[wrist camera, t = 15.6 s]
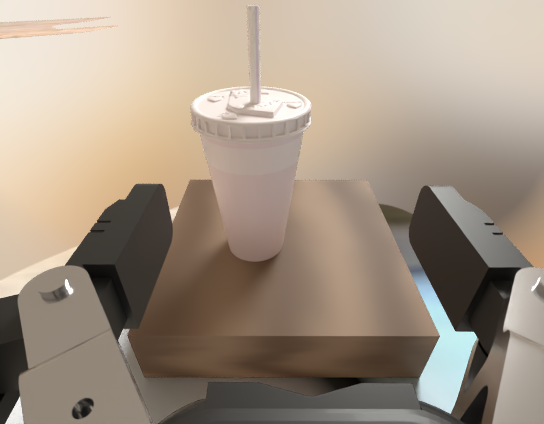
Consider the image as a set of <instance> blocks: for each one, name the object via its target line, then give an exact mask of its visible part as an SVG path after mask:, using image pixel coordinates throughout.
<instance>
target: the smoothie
mask: <svg viewBox="0 0 544 424" xmlns="http://www.w3.org/2000/svg"><path fill="white" fill-rule="evenodd" d="M259 7H260V6H259V5H247V24H248V51H249V77H250V78H249V80H250V86H249V87H248V86H246V87H233V88H226V89H220V90H216V91H212V92H209V93H206V94H203V95H202V96H199V97H198V98H196V99H195V100H194V101H193V102H192V103H191V106H190V109H191V116H192V121H191V125H192V127H193V129H194V130H195V131H196V132H198V133H199V134H200V136H201V139H202V144H203V148H204V152H205V156H206V160H207V163H208V167H209V171H210V175H211V179H212V182H213V186H214V190H215V194H216V198H217V202H218V206H219V209H220V213H221V217H222V221H223V225H224V229H225V232H226V236H227V240H228V244H229V248H230V250H231V252H232V253H233V254H234V255H235V256H236V257H238V258H240V259H242V260H246V261H252V262H258V261H264V260H268V259H270V258H272V257H274V256H275V255H277V254H278V253H279V252H280V250H281V248H282V245H283V240H284V234H285V229H286V224H287V218H288V213H289V207H290V202H291V197H292V191H293V186H294V180H295V175H296V170H297V164H298V159H299V154H300V149H301V143H302V137H303V132H304V131H305V130H306V129H307V128H308V127H309V126H310V123H311V118H310V112H311V103H310V101H309V100H308V99H307V98H306V97H304V96H302V95H301V94H299V93H296V92H293V91H289V90H286V89H280V88H273V87H261V67H260V66H261V65H260V11H259V10H260V9H259Z"/></svg>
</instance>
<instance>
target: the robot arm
mask: <svg viewBox="0 0 544 424" xmlns="http://www.w3.org/2000/svg"><path fill="white" fill-rule="evenodd" d="M90 231H91V232H90V233H88V234H87V236H86V237H85V238H84V240H83V241H82V242H81V244H80V245H79V246H78V248H77V249H76V251H75V252H74V253H73V255H72V256H71V258H70V259H69V260H68V262H67V263H66V265H65V266H60V267H56V268H53V269H50V270H47V271H45V272H43V273H41V274H39V275H38V276H36V277H35V278H33V279H32V280H31V281H29V282H28V283H27V284H26V285H25V286H24V287H23V289H22V290H21V292H20V294H18V295H13V296H9V297H5V298H0V424H5V423H6V421H7V419H8V417H9V415H10V413H11V412H12V410H13V408H14V406H15V404H16V402H17V401H18V399H19V397H20V398H21V406H22V413H23V420H24V424H153V421H152V419H151V417H150V414H149V412H148V410H147V408H146V405H145V403H144V401H143V398H142V396H141V394H140V391H139V389H138V386H137V384H136V382H135V379H134V377H133V375H132V372H131V370H130V368H129V365H128V363H127V360H126V358H125V356H124V353H123V351H122V349H121V346H120V344H119V342H118V339H119V337H120V334H121V332H122V330H123V329H139V326H140V324H141V321H142V318H143V316H144V313H145V311H146V308H147V305H148V303H149V300H150V297H151V295H152V292H153V290H154V287H155V284H156V282H157V279H158V277H159V274H160V271H161V269H162V266H163V264H164V261H165V258H166V256H167V253H168V250H169V248H170V245H171V242H172V237H173V226H172V220H171V216H170V211H169V206H168V202H167V197H166V192H165V189H164V186H163V185H162V184H136V185H135V186H134V187H133V189H132V190H131V192H130V193H129V195H128V196H127V198H126V199H125V200H118V201H117V202H115V203H114V204H112V205H111V206H109V207H108V208H107V209H105V211H104V212H103V213H102V215H101V216H100V217H99V219H98V220H97V223H95V224H94V226H93V227H92V228H91V230H90ZM409 239H410V243H411V246H412V248H413V250H414V252H415V254H416V256H417V258H418V259H419V261H420V263H421V265H422V267H423V269H424V271H425V273H426V275H427V277H428V279H429V281H430V283H431V285H432V287H433V289H434V291H435V293H436V295H437V296H438V298H439V300H440V302H441V304H442V306H443V308H444V310H445V312H446V314H447V316H448V318H449V320H450V322H451V324H452V326H453V328H454V330H455V331H467V332H475V334H476V336H477V340H476V341H475V343H474V345H473V348H472V351H471V354H470V358H469V361H468V364H467V368H466V371H465V374H464V378H463V381H462V384H461V388H460V391H459V394H458V398H457V401H456V403H455V406H454V408H453V410H452V412H451V414H449V413H447V412H445V411H443V410H441V409H439V408H437V407H435V406H432V405H430V404H427V403H425V402H422V401H418V399H417V396H416V393H415V390H414V387H413V384H412V383H360V384H357V385H353V386H349V387H346V388H342V389H339V390H335V391H332V392H328V393H324V394H321V395H317V396H306V395H302V394H299V393H295V392H291V391H288V390H284V389H281V388H277V387H273V386H270V385H266V384H262V383H258V382H209V383H208V389H207V396H206V398H205V399H202V400H198V401H196V402H193V403H191V404H188V405H186V406H184V407H182V408H181V409H179V410H177V411H175V412H173V413H172V414H171V415H169V416H168V417H166V418H165V419H163V420H162V421H161V422H160V423H158V424H544V269H542V268H534V267H533V266H532V265H531V263H530V262H529V261H528V260H527V259H526V258H525V257H524V256H523V255H522V253H521V252H520V251H519V250H518V249H517V248H516V247H515V246H514V245H513V243H512V242H511V241H510V240H509V239H508V238H507V237H506V236H505V235H503V232H502V231H501V230H500V229H499V228H498V227H497V226H496V225H494V222H493V221H492V220H491V219H490V218H489V217H488V216H487V214H486V213H485V212H484V211H482V210H481V209H479V208H477V207H476V206H474V205H473V204H471V203H469V202H465V201H464V199H463V198H462V197H461V196H460V195H459V193H458V192H457V191H456V190H455V189H454V188H453V187H452V186H424V187H423V188H422V189H421V191H420V194H419V197H418V200H417V203H416V207H415V210H414V213H413V217H412V220H411V223H410V227H409Z"/></svg>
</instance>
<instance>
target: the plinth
mask: <svg viewBox="0 0 544 424" xmlns="http://www.w3.org/2000/svg"><path fill="white" fill-rule="evenodd" d="M172 226H173V237H172V242H171V245H170V248H169V250H168V253H167V256H166V258H165V261H164V264H163V266H162V269H161V271H160V274H159V277H158V279H157V282H156V284H155V287H154V290H153V292H152V295H151V297H150V300H149V303H148V305H147V308H146V311H145V313H144V316H143V318H142V321H141V324H140V326H139V329H130V331H129V333H128V338H129V341H130V343H131V346H132V348H133V350H134V353H135V355H136V358H137V360H138V363H139V365H140V367H141V370H142V372H143V375H144V377H404V378H420V376H421V374H422V372H423V370H424V368H425V366H426V363H427V361H428V359H429V357H430V355H431V353H432V351H433V349H434V347H435V345H436V343H437V341H438V339H439V337H440V336H439V333H438V331H437V329H436V327H435V325H434V323H433V321H432V318H431V316H430V314H429V312H428V310H427V308H426V305H425V303H424V301H423V299H422V297H421V295H420V293H419V290H418V288H417V286H416V284H415V282H414V280H413V278H412V275H411V273H410V271H409V269H408V267H407V265H406V263H405V260H404V258H403V256H402V254H401V252H400V250H399V248H398V245H397V243H396V241H395V239H394V237H393V235H392V233H391V230H390V228H389V226H388V224H387V222H386V220H385V217H384V215H383V213H382V211H381V209H380V207H379V205H378V202H377V200H376V198H375V196H374V194H373V192H372V190H371V187H370V186H369V183H368V181H367V180H294V186H293V191H292V197H291V202H290V207H289V213H288V218H287V224H286V229H285V234H284V240H283V245H282V248H281V250H280V252H279V253H278V254H277V255H275V256H274V257H272V258H270V259H268V260H264V261H258V262H252V261H246V260H242V259H240V258H238V257H236V256H235V255H234V254H233V253H232V252H231V250H230V248H229V244H228V240H227V236H226V232H225V229H224V225H223V221H222V217H221V213H220V209H219V206H218V202H217V198H216V194H215V190H214V186H213V182H212V180H190V181H189V184H188V186H187V189H186V191H185V194H184V197H183V199H182V201H181V204H180V206H179V209H178V211H177V214H176V216H175V219H174V221H173V224H172Z"/></svg>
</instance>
